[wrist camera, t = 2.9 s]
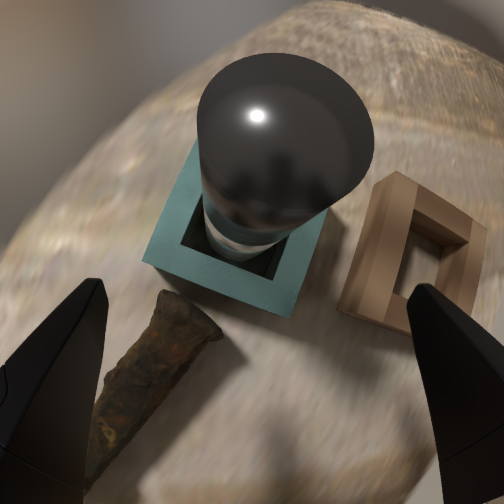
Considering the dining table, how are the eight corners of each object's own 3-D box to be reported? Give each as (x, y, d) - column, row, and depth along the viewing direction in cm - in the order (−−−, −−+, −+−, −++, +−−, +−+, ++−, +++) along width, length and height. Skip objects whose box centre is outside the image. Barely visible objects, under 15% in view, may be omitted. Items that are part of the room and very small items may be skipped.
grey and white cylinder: (258, 271, 19) (349, 239, 6) (195, 246, 19) (163, 164, 6) (281, 210, 20) (386, 96, 7) (221, 186, 19) (239, 33, 7)
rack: (434, 345, 20) (460, 350, 17) (336, 309, 19) (356, 313, 17) (461, 235, 22) (487, 229, 19) (374, 184, 21) (396, 170, 18)
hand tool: (174, 283, 19) (161, 282, 14) (225, 326, 19) (229, 338, 14) (35, 464, 16) (9, 491, 11) (76, 497, 16) (56, 529, 11)
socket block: (277, 314, 19) (289, 318, 16) (152, 264, 18) (141, 261, 15) (319, 195, 20) (336, 180, 17) (203, 147, 20) (203, 125, 17)
